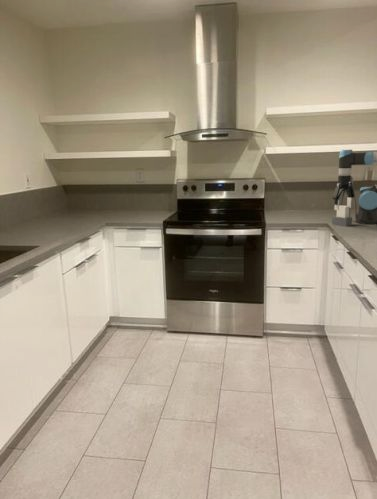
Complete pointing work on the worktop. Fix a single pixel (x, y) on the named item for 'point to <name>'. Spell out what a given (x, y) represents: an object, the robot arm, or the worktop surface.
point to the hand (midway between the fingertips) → (342, 208)
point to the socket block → (341, 221)
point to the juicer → (354, 199)
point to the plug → (343, 211)
